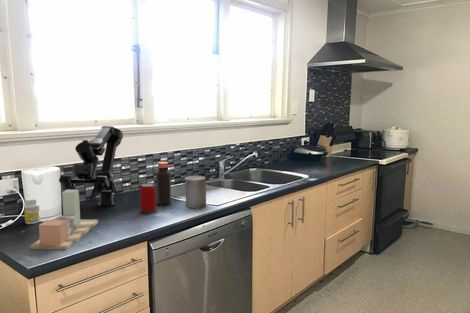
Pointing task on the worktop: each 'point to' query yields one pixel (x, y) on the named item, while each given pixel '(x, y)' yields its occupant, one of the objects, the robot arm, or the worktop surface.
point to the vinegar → (163, 184)
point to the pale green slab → (71, 204)
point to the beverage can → (147, 198)
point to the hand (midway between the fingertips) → (79, 200)
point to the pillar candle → (195, 191)
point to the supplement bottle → (31, 211)
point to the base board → (71, 231)
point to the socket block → (53, 232)
